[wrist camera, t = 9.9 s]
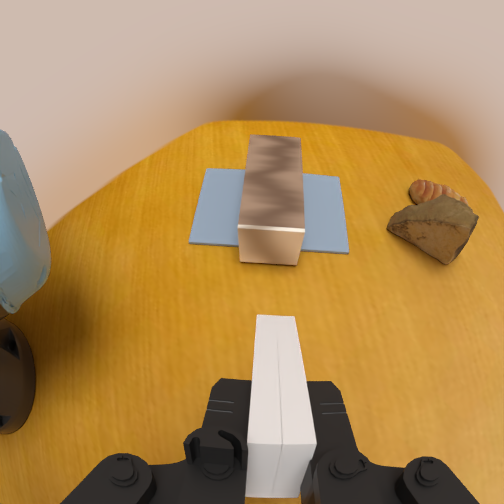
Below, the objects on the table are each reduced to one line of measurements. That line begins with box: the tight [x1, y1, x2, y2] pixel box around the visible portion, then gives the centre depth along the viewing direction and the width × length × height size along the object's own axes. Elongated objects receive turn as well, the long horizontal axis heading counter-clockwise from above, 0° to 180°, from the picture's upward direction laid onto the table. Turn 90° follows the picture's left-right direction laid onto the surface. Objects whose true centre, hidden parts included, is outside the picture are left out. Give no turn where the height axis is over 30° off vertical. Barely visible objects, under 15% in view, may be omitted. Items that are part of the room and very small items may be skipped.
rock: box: [387, 194, 479, 264], centre depth 31 cm, size 11×9×10 cm
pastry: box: [409, 180, 468, 205], centre depth 35 cm, size 9×7×4 cm
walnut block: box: [238, 135, 305, 265], centre depth 33 cm, size 6×6×14 cm
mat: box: [189, 169, 349, 254], centre depth 36 cm, size 18×12×1 cm, turn 85°
